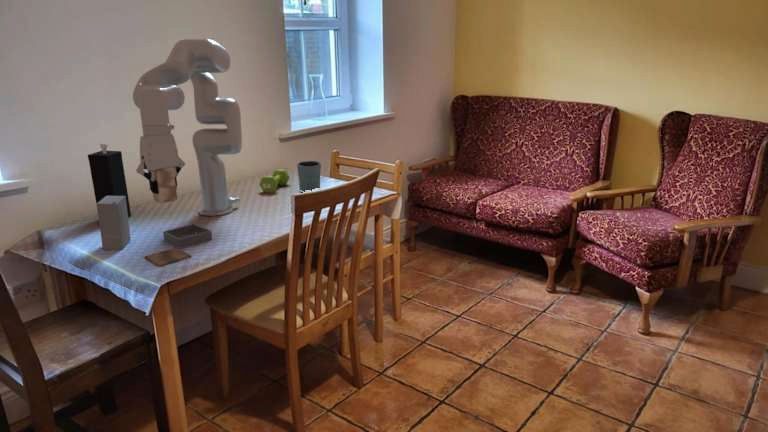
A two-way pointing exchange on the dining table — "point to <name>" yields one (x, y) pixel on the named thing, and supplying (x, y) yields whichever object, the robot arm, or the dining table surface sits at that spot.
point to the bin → (200, 237)
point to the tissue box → (108, 175)
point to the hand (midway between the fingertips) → (164, 190)
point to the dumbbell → (274, 180)
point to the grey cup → (309, 175)
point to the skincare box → (113, 222)
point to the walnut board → (167, 256)
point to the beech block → (165, 185)
